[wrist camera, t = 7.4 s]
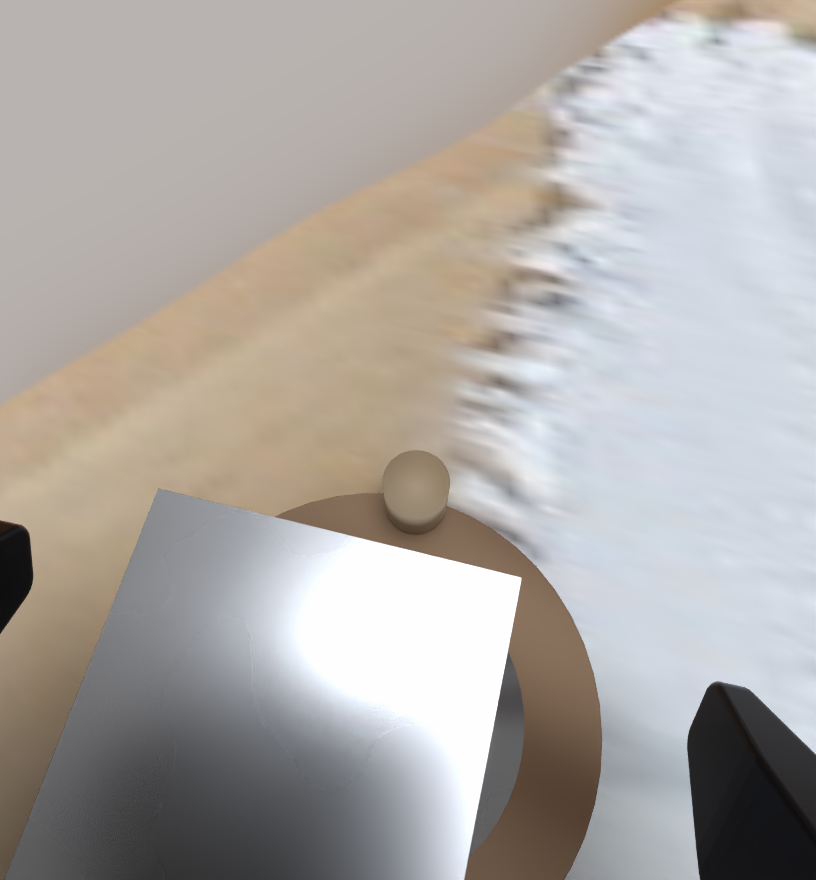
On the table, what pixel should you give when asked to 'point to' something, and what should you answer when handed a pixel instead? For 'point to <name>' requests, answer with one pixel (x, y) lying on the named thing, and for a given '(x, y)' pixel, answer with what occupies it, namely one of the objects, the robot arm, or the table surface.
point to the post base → (532, 652)
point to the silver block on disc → (283, 711)
